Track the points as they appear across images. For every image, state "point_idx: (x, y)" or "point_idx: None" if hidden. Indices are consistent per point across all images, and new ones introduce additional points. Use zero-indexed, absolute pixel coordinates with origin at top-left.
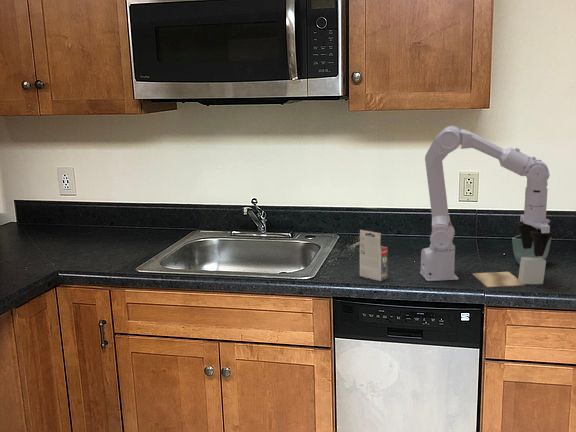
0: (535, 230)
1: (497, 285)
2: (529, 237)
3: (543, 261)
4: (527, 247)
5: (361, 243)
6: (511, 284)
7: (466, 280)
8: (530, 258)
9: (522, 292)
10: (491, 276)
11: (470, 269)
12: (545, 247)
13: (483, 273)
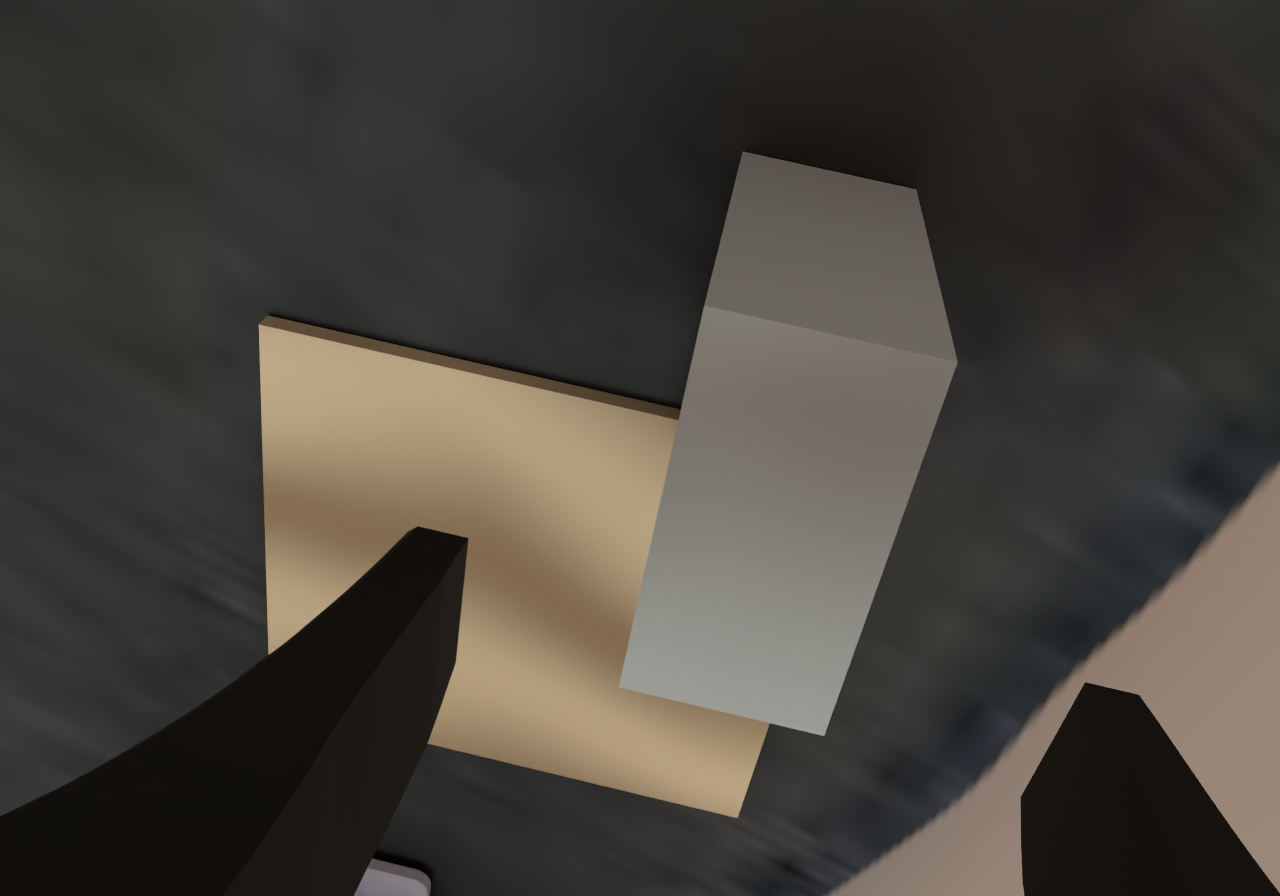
0: (245, 875)
1: (751, 730)
2: (342, 791)
3: (936, 410)
4: (452, 625)
5: None
6: None
7: (452, 821)
8: (733, 582)
9: (1054, 614)
10: None
11: (79, 612)
12: (1270, 883)
13: (290, 619)
